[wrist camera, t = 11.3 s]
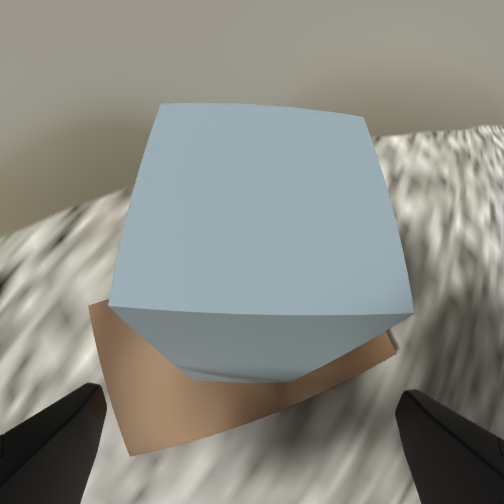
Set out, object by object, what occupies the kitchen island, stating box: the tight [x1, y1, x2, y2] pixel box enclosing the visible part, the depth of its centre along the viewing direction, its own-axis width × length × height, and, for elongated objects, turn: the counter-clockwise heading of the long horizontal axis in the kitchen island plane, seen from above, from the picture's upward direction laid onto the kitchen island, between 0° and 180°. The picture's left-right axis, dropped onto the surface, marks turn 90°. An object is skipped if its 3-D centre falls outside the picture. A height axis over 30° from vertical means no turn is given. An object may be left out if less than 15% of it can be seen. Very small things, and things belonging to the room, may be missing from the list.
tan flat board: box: [88, 299, 396, 456], centre depth 17 cm, size 16×9×1 cm, turn 111°
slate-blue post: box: [108, 103, 414, 383], centre depth 11 cm, size 5×5×12 cm
